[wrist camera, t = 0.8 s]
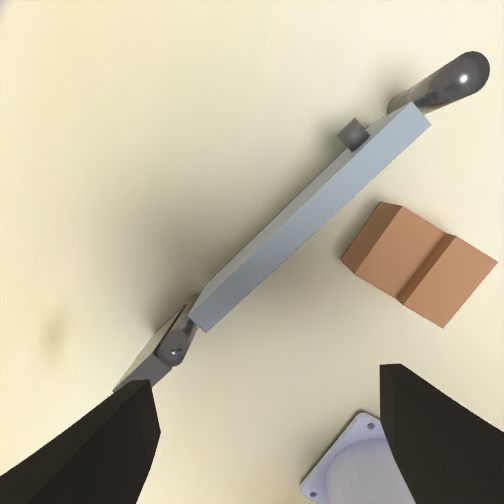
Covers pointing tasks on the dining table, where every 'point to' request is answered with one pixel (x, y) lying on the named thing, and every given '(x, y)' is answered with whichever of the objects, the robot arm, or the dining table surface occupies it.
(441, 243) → the notched block
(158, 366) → the door frame
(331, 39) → the dining table surface
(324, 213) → the door
